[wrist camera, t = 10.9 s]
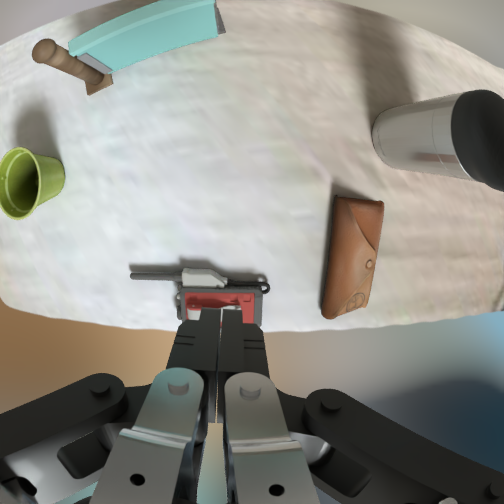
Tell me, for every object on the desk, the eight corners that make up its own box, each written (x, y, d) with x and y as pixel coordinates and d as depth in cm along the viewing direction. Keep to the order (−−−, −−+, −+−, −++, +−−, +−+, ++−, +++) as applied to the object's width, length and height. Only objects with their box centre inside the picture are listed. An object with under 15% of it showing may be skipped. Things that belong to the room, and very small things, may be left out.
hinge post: (108, 61, 30) (51, 23, 16) (113, 83, 32) (53, 52, 17) (85, 73, 31) (22, 44, 16) (89, 95, 32) (23, 73, 17)
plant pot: (22, 190, 35) (-12, 199, 27) (43, 136, 33) (8, 136, 25) (60, 218, 37) (27, 233, 29) (83, 163, 35) (50, 166, 27)
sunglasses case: (368, 309, 44) (363, 329, 38) (328, 301, 47) (317, 320, 42) (385, 198, 39) (383, 202, 33) (339, 192, 42) (330, 195, 36)
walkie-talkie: (269, 267, 41) (132, 265, 40) (273, 279, 37) (122, 276, 36) (266, 320, 44) (139, 317, 43) (270, 336, 40) (131, 332, 39)
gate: (107, 76, 30) (68, 54, 20) (106, 66, 30) (67, 42, 19) (219, 38, 30) (214, -2, 20) (216, 27, 29) (210, -14, 19)
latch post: (218, 9, 29) (212, -42, 17) (225, 32, 31) (222, -17, 18) (187, 17, 29) (169, -32, 17) (193, 41, 31) (177, -5, 18)
